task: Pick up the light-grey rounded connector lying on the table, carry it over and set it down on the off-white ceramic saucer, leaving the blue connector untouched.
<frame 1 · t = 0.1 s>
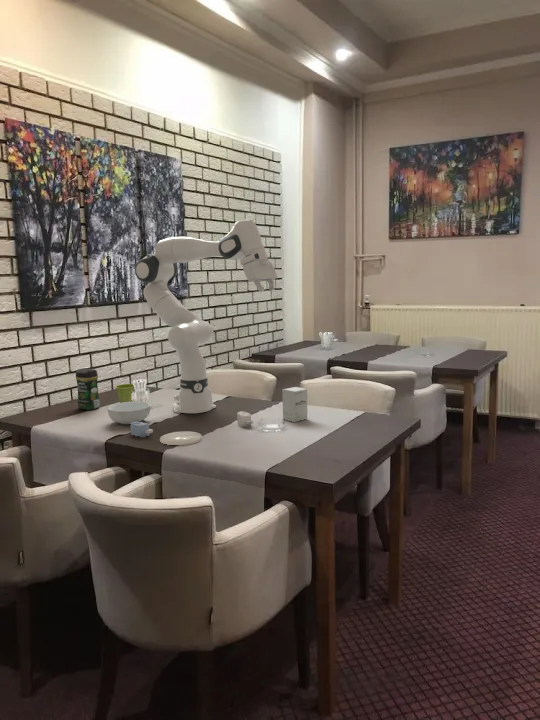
hand: (267, 291, 232), 52 cm above the table, tool tilted 20°, fingers open, 8 cm apart
grey connector: (244, 424, 230), on the table
coffee jar: (89, 408, 266), on the table
cereal bowl: (130, 423, 238), on the table
supplement box: (295, 419, 235), on the table
saucer: (180, 439, 211), on the table
blue connector: (140, 435, 219), on the table
plant pot: (126, 404, 273), on the table
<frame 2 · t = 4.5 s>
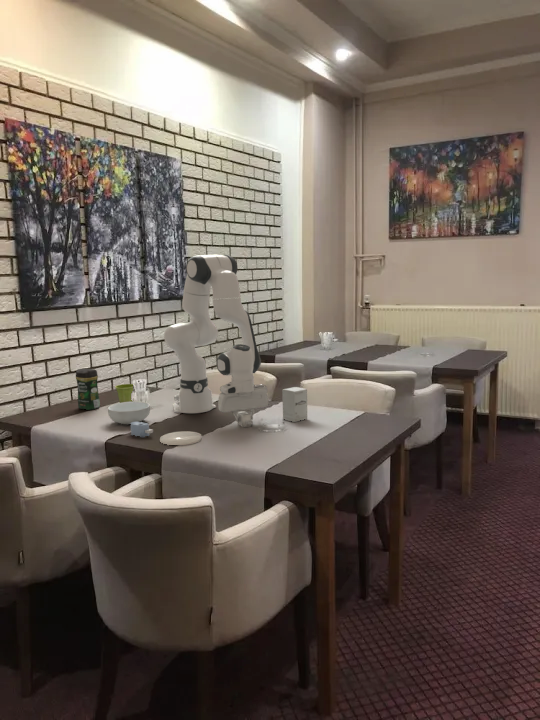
hand: (244, 420, 229), 2 cm above the table, tool pointing down, fingers closed on grey connector, 4 cm apart
grey connector: (244, 424, 230), on the table, touching gripper
everything else where it was.
when the fingers open (4 cm above the table, at t = 10.2 s): grey connector drops 1 cm, resting on saucer.
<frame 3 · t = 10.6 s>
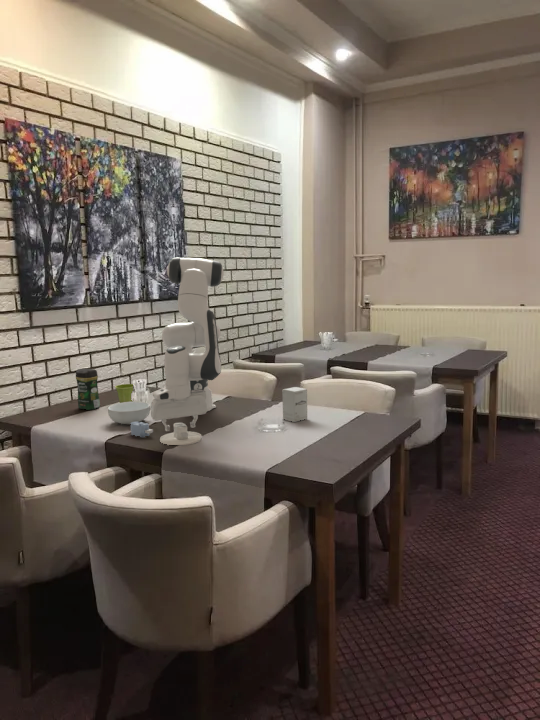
hand: (180, 428, 211), 4 cm above the table, tool pointing down, fingers open, 8 cm apart
grey connector: (180, 437, 211), point 1 cm above the table, touching saucer
everything else where it was.
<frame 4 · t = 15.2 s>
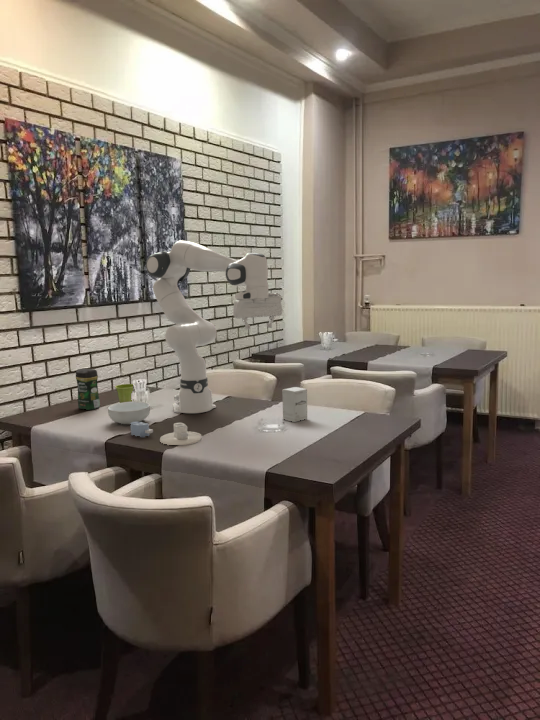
hand: (258, 328, 233), 37 cm above the table, tool pointing down, fingers open, 8 cm apart
nothing on the table moved.
at the end: grey connector 0.1 cm from the saucer (horizontally); grey connector point 1.0 cm above the table; the gripper is holding nothing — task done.
